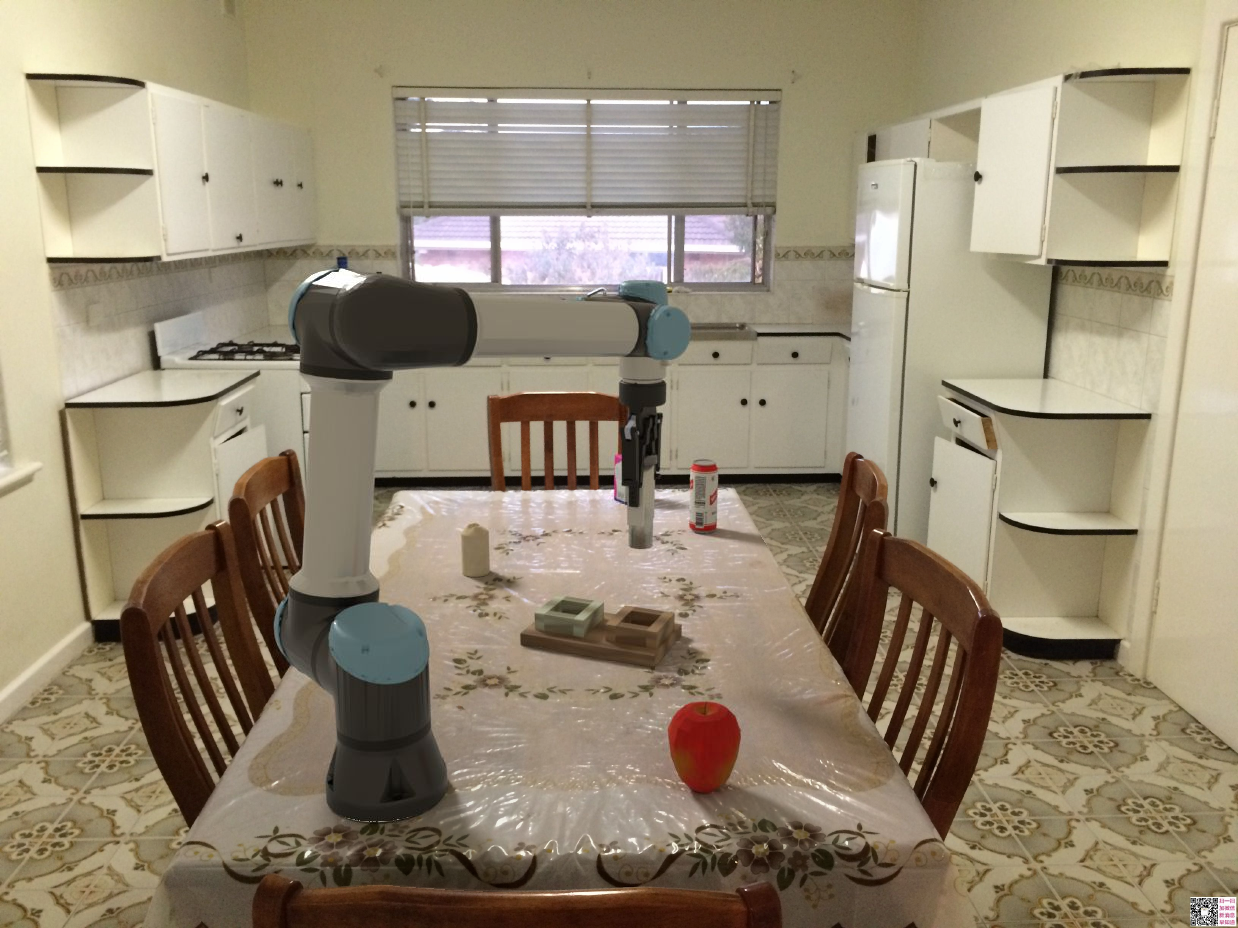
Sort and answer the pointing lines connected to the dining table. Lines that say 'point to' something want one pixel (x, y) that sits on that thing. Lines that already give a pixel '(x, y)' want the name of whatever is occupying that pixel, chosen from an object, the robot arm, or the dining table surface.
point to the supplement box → (619, 481)
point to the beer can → (703, 496)
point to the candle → (475, 550)
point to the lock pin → (638, 534)
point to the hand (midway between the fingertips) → (640, 520)
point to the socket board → (603, 631)
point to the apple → (704, 744)
